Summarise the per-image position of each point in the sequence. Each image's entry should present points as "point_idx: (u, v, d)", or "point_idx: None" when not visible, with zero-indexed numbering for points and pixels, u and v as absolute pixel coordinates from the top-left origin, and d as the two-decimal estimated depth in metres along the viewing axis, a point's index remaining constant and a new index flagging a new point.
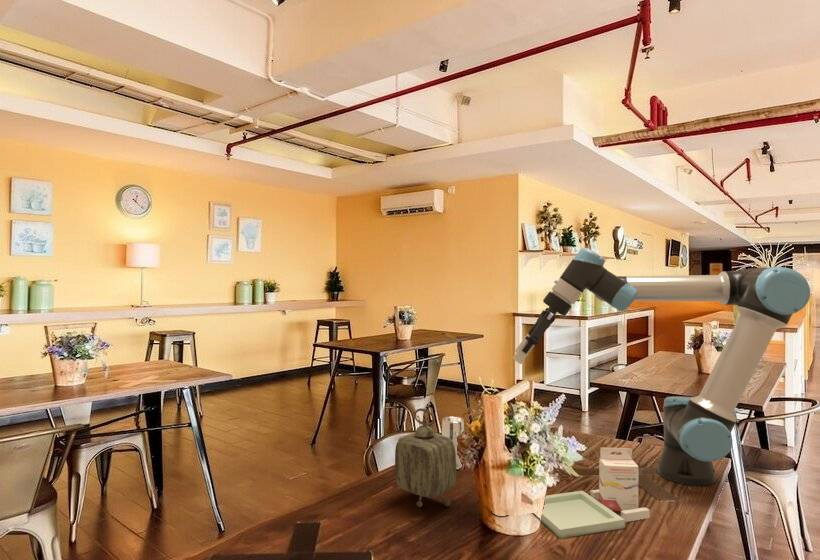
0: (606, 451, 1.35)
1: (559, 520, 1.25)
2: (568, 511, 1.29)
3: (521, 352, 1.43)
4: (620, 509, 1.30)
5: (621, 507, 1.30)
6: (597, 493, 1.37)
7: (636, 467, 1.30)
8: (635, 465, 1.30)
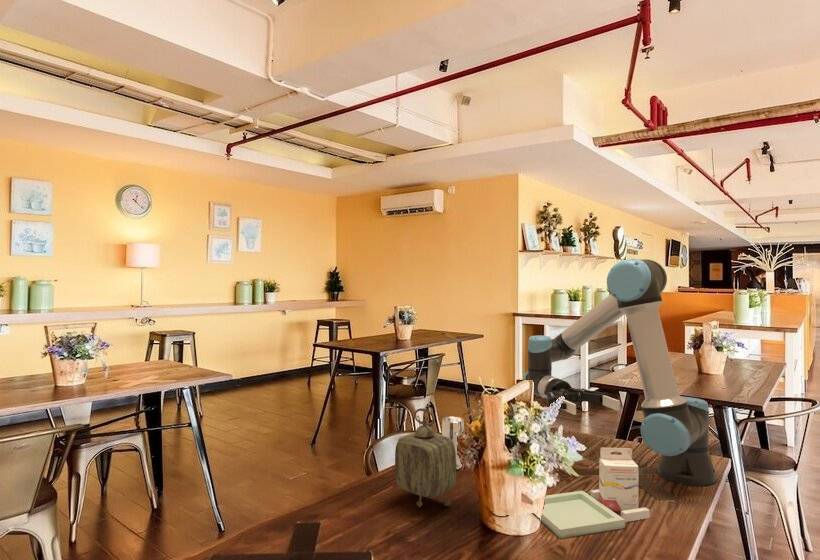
0: (606, 451, 1.35)
1: (559, 520, 1.25)
2: (568, 511, 1.29)
3: (567, 408, 1.42)
4: (620, 509, 1.30)
5: (621, 507, 1.30)
6: (597, 493, 1.37)
7: (636, 467, 1.30)
8: (635, 465, 1.30)
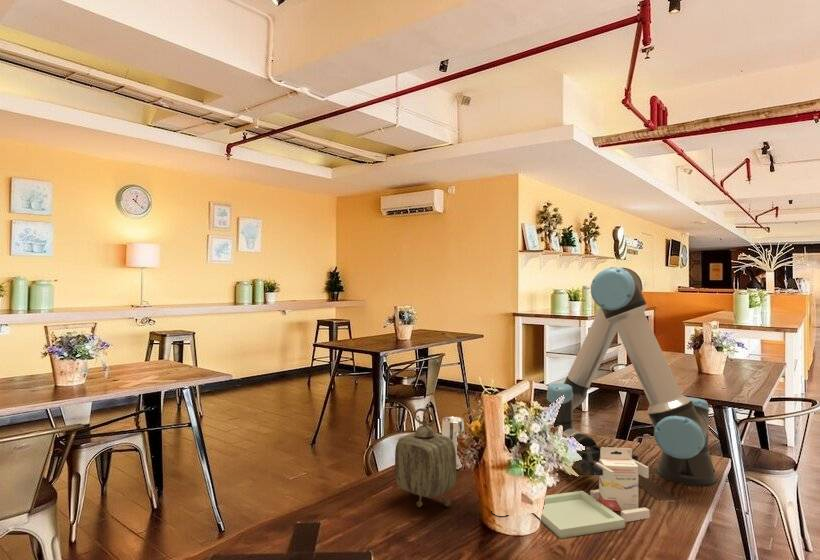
0: (605, 451, 1.35)
1: (559, 520, 1.25)
2: (568, 511, 1.29)
3: (604, 474, 1.30)
4: (620, 509, 1.30)
5: (621, 507, 1.30)
6: (597, 493, 1.37)
7: (636, 467, 1.30)
8: (635, 465, 1.30)
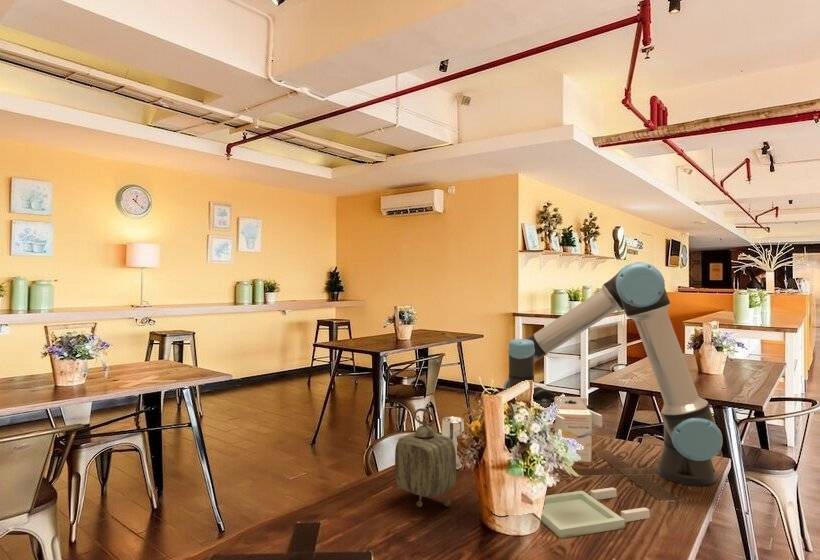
0: None
1: (559, 520, 1.25)
2: (568, 511, 1.29)
3: (556, 422, 1.25)
4: None
5: None
6: (597, 493, 1.37)
7: (589, 415, 1.26)
8: (588, 413, 1.26)
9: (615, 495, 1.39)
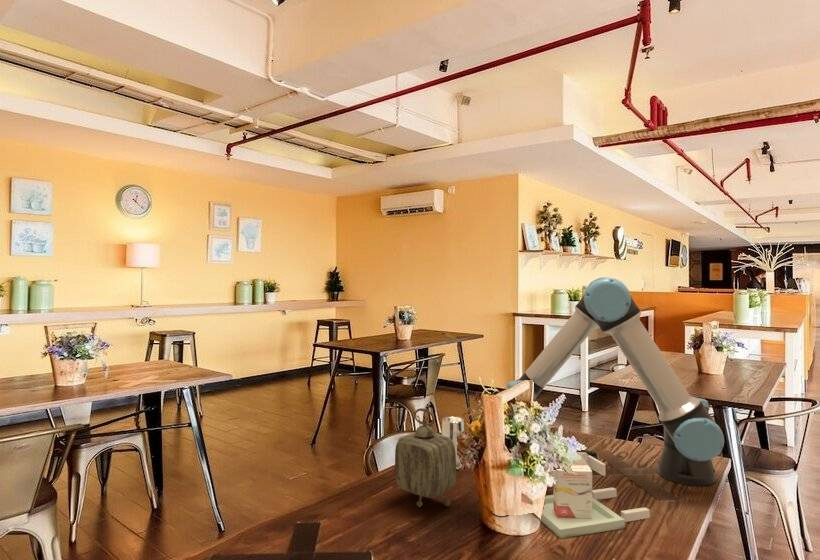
0: None
1: (559, 520, 1.25)
2: None
3: None
4: (573, 515, 1.26)
5: (575, 514, 1.26)
6: (597, 493, 1.37)
7: (590, 472, 1.25)
8: (589, 470, 1.26)
9: (615, 495, 1.39)
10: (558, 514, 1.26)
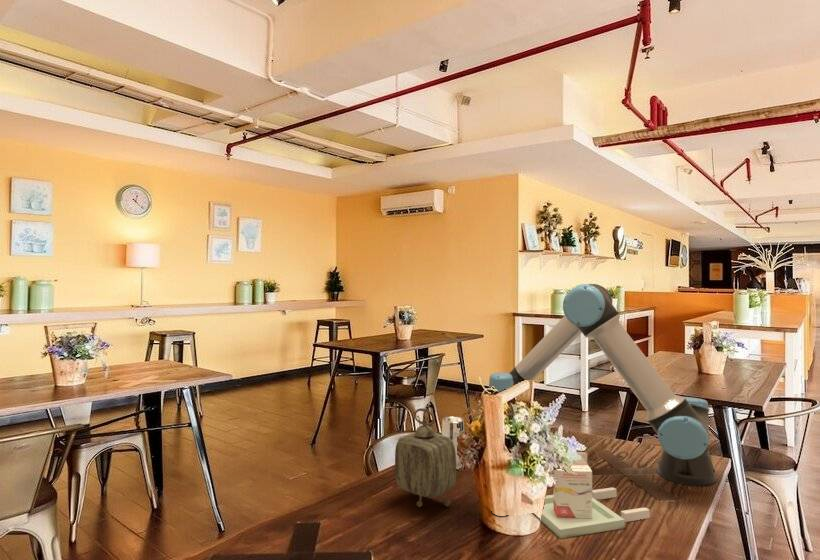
0: None
1: (559, 520, 1.25)
2: None
3: None
4: (573, 515, 1.26)
5: (575, 514, 1.26)
6: (597, 493, 1.37)
7: (590, 472, 1.25)
8: (589, 470, 1.26)
9: (615, 495, 1.39)
10: (558, 514, 1.26)
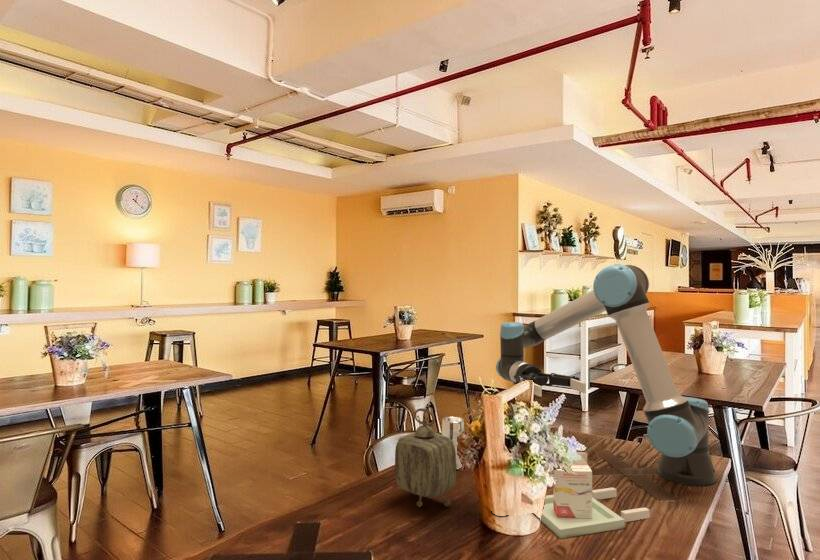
0: None
1: (559, 520, 1.25)
2: None
3: (534, 390, 1.43)
4: (573, 515, 1.26)
5: (575, 514, 1.26)
6: (597, 493, 1.37)
7: (590, 472, 1.25)
8: (589, 470, 1.26)
9: (615, 495, 1.39)
10: (558, 514, 1.26)
